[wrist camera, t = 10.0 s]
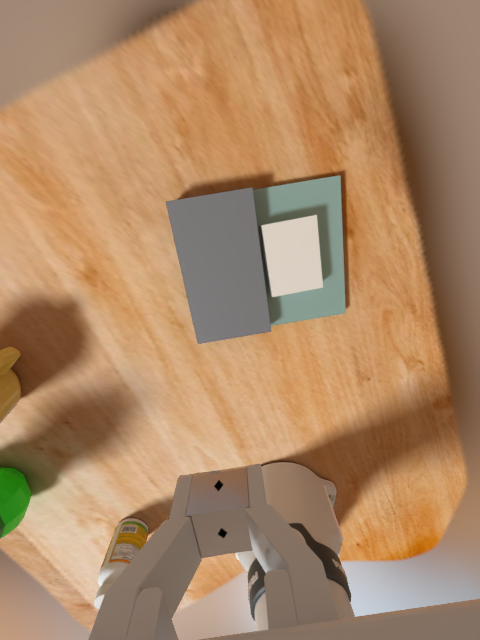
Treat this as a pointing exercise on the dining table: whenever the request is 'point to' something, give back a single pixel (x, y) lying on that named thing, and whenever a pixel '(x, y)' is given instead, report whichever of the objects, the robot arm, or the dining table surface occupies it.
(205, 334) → the plate
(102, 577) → the supplement bottle
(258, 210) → the mat
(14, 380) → the mug
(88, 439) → the dining table surface
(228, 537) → the robot arm
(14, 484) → the plastic bottle
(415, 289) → the dining table surface
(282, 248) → the tile
